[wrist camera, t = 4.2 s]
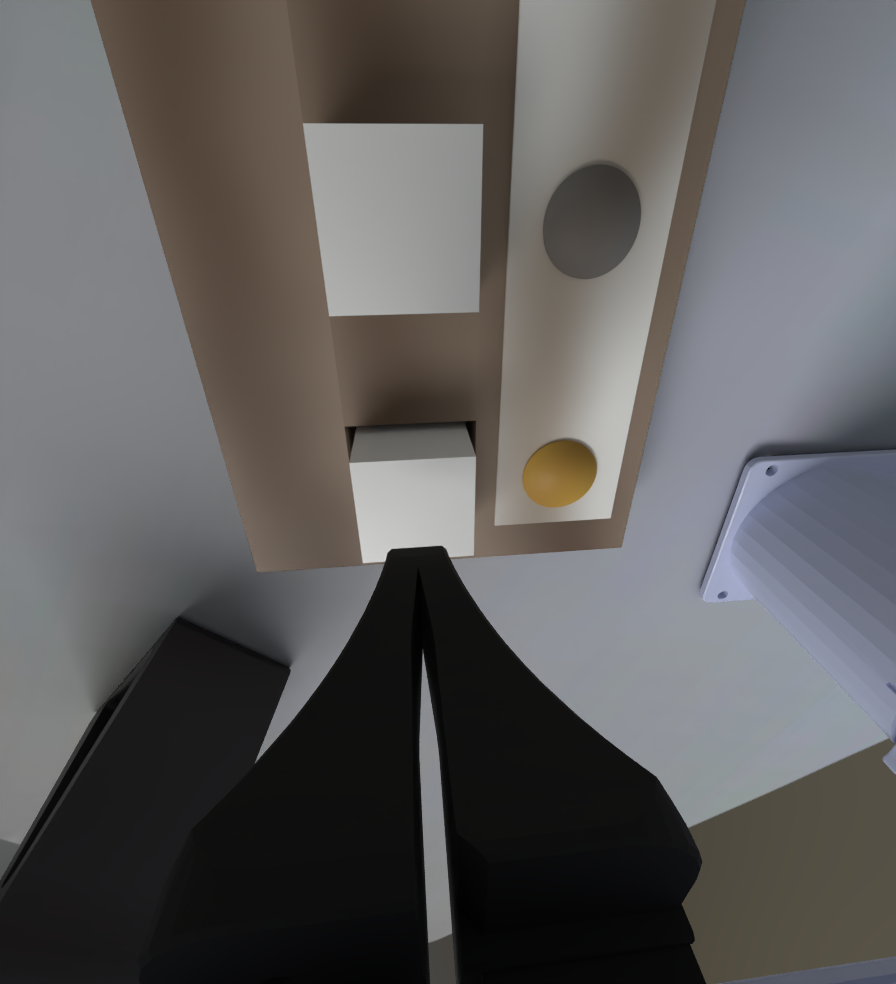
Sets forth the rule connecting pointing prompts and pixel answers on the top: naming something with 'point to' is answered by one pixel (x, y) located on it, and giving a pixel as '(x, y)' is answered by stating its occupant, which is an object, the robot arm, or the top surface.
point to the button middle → (398, 216)
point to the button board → (503, 254)
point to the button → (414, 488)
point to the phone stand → (132, 807)
